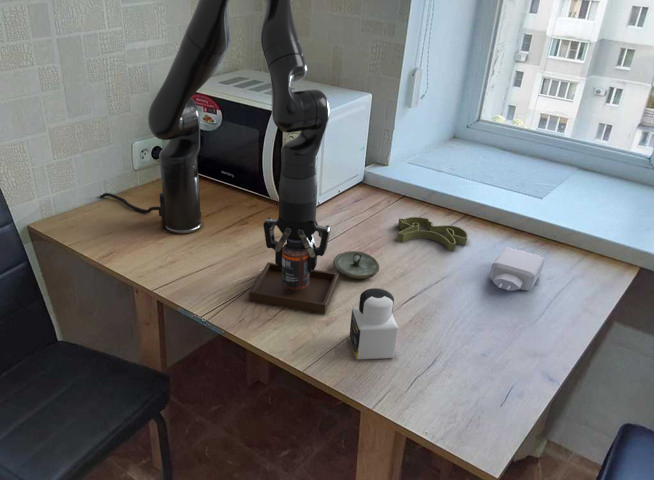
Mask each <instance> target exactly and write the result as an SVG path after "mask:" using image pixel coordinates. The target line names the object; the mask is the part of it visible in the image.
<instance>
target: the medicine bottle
mask: <svg viewBox="0 0 654 480" xmlns="http://www.w3.org/2000/svg"><path fill="white" fill-rule="evenodd" d="M394 302H395V297H394V296H393V294H392V293H391V292H390V291H388V290H385V289H383V288H377V287H373V288H367V289H366V290H363V291H362V292H361V293H360V295H359V302H358V303H359V306H356V307H355V306H354V307H352V309H351V316H350V327H349V336H348V337H349V341H350V343H351V344H350V345H351V347H352V350H353V353H354V356H355V359H356V360H358V361H359V360H377V359H378V360H379V359H393V358H395V353H396V347H397V339H398V331H399V326H398V323H397V322H396V319H395V317H394V315H393V311H394Z"/></svg>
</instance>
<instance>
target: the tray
mask: <svg viewBox="0 0 654 480" xmlns="http://www.w3.org/2000/svg"><path fill="white" fill-rule="evenodd" d="M339 275H340V272H333V271H332V272H331V271H326V270H325V271H324V270H320V269H314V270H312V272H309V284H308V286H307V287H306V288H304V289H301V290H290V289H287V288H285V287H284V286H283V285H282V267H278V264H276V263H275V262H267V263H266V265H265V266H264V268H263V269H262V271H261V273H260V274H259V275H258V277H257V279H256V280H255V282H254V283H253V285H252V287H251V289H250V290H249V292H248V301H249V302H252V303H256V304H264V305H269V306H274V307H280V308H286V309H291V310H297V311H304V312H307V313H314V314H319V315H326V312H327V310H328V308H329V306H330V303H331V300H332V298H333V297H334V294H335V291H336V289H337V286H338V283H339Z"/></svg>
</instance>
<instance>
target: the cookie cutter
mask: <svg viewBox="0 0 654 480" xmlns="http://www.w3.org/2000/svg"><path fill="white" fill-rule="evenodd" d="M397 226H398V227H399V228H400V231H399V232H398V233H397V241H398V242H401V243H404V242H406V241H409V240H412V239H428V240H432V241H435V242H438V243H440V244H442V245H443V246H444V247H445V248H446V249H447V251H448V252H455V248H456V245H461V246H467V242H468V233H467V231H466V230H465V229H464V228H462V227H459V226H456V225H448V224H447V225H446V224H444V225H434V222H433V221H431V220H430V218H426V217H420V216H409V217H405V218H398V224H397ZM420 226H425V227H426V228H427V229H428V230H420ZM442 234H444V235H442Z"/></svg>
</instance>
